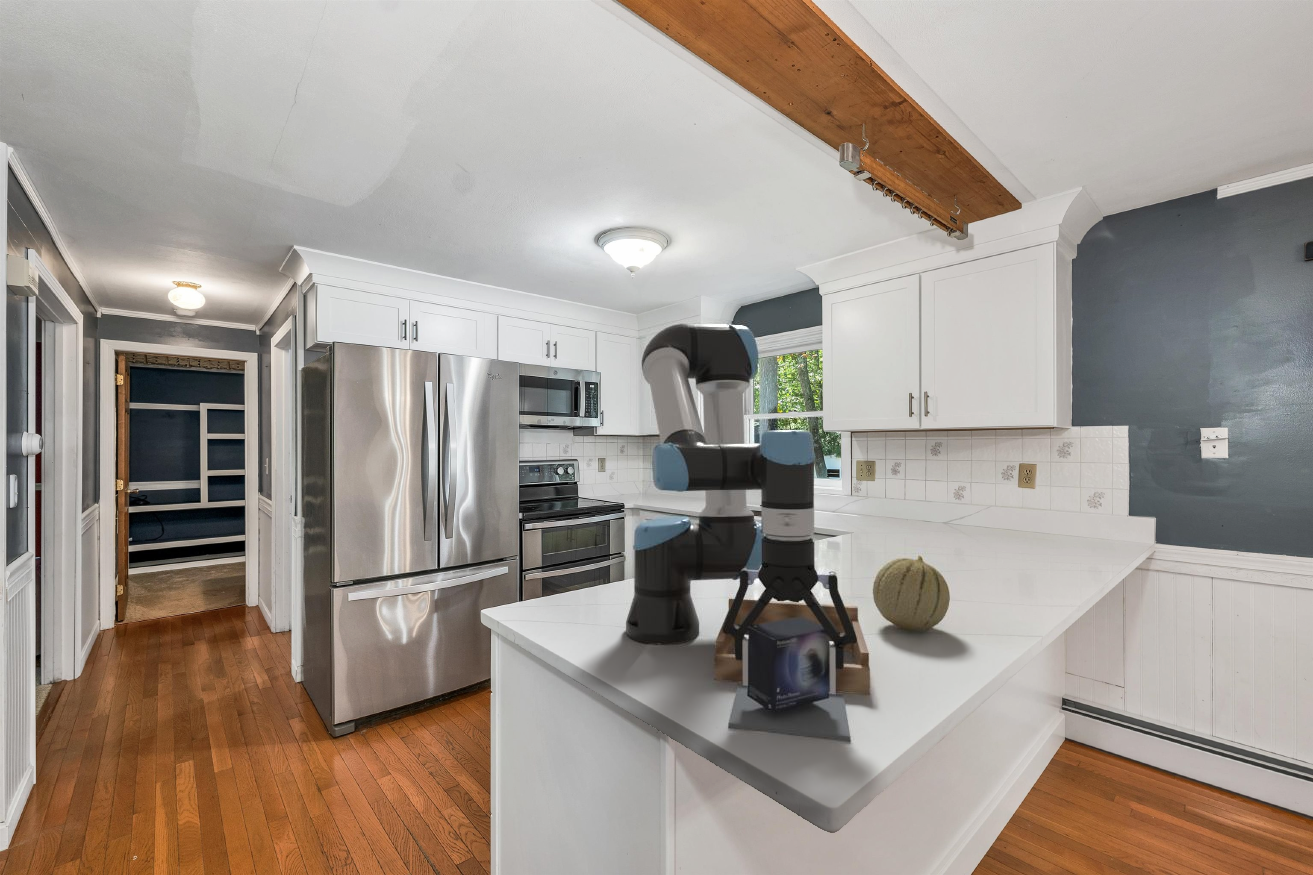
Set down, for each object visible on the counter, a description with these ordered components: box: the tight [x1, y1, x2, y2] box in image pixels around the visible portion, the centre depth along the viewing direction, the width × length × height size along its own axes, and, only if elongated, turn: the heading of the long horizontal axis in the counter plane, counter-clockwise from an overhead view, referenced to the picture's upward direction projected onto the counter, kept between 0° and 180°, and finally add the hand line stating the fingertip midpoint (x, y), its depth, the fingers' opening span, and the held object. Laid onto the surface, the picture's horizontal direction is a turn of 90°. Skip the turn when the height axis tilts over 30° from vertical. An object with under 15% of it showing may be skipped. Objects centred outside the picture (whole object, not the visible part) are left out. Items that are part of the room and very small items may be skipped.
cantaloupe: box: [872, 555, 951, 632], centre depth 121 cm, size 15×15×15 cm
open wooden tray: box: [714, 598, 871, 696], centre depth 103 cm, size 24×20×8 cm
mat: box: [727, 684, 851, 742], centre depth 84 cm, size 16×13×1 cm
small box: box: [747, 616, 830, 713], centre depth 84 cm, size 11×6×10 cm, turn 117°
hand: (788, 685), depth 84 cm, fingers closed on small box, 11 cm apart
